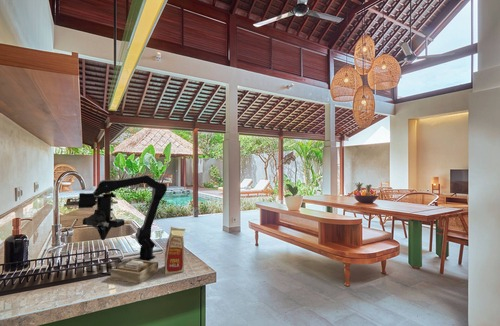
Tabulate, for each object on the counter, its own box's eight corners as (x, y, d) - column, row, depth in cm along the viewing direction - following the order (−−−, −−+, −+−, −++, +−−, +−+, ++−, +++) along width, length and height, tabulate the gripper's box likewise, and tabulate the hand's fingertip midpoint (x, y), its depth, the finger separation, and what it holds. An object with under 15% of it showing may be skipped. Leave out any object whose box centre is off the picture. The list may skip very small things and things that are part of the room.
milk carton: (165, 274, 117) (166, 229, 117) (163, 266, 125) (165, 224, 125) (186, 271, 120) (187, 228, 120) (183, 264, 129) (184, 223, 129)
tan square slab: (128, 268, 120) (129, 258, 120) (147, 271, 118) (148, 260, 118) (116, 275, 113) (117, 264, 113) (136, 278, 110) (137, 267, 110)
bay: (131, 267, 123) (131, 258, 123) (157, 270, 120) (158, 262, 120) (110, 278, 110) (110, 269, 110) (139, 283, 107) (140, 273, 107)
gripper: (72, 208, 118) (71, 243, 118) (108, 211, 113) (107, 247, 114) (92, 204, 128) (91, 236, 129) (125, 207, 124) (124, 240, 124)
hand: (103, 240), depth 123 cm, fingers closed
